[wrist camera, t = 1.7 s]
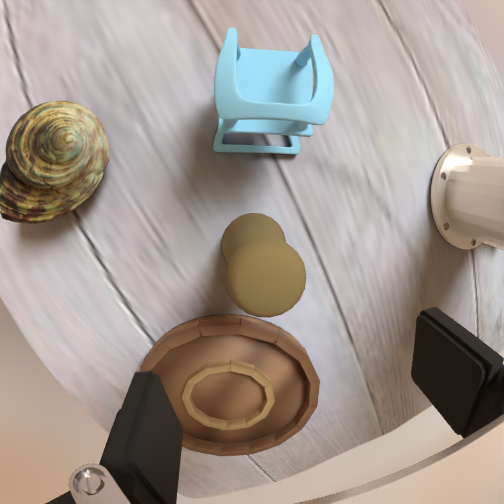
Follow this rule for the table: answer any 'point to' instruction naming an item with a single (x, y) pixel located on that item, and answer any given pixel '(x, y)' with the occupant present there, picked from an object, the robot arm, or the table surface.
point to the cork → (261, 266)
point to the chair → (270, 93)
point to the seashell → (51, 162)
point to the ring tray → (235, 383)
